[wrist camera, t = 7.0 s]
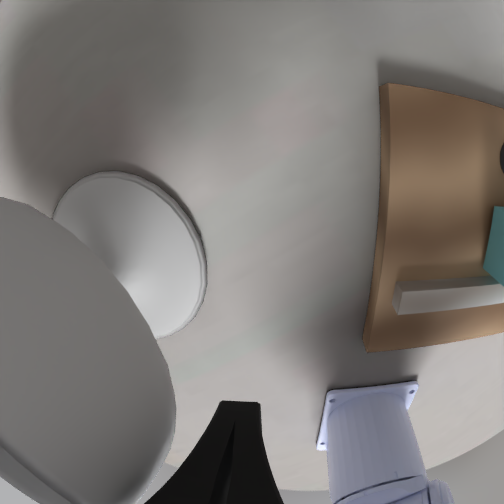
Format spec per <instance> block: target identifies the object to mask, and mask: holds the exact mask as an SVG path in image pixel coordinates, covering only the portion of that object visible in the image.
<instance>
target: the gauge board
mask: <svg viewBox="0 0 504 504" xmlns="http://www.w3.org/2000/svg"><path fill="white" fill-rule="evenodd" d="M379 95H380V119H381V174H380V198H379V214H378V228H377V239H376V249H375V258H374V267H373V275H372V282H371V289H370V296H369V303H368V309H367V315H366V321H365V326H364V332H363V337H362V340H363V343H364V346H365V349H366V352H367V353H369V352H380V351H390V350H400V349H408V348H416V347H424V346H431V345H438V344H444V343H450V342H456V341H462V340H468V339H473V338H478V337H483V336H488V335H493V334H497V333H502V332H504V287H503V286H502V285H501V284H500V283H499V282H498V281H497V280H496V279H495V278H493V277H492V276H491V275H490V274H489V273H488V272H487V271H485V270H484V269H483V264H484V260H485V256H486V251H487V246H488V241H489V236H490V231H491V225H492V219H493V212H494V206H499V207H504V109H503V108H500V107H497V106H494V105H491V104H487V103H484V102H481V101H477V100H473V99H470V98H466V97H462V96H458V95H454V94H449V93H445V92H440V91H435V90H430V89H425V88H420V87H414V86H408V85H401V84H394V83H386V84H384V85H381V86H379Z"/></svg>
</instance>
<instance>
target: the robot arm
mask: <svg viewBox="0 0 504 504" xmlns="http://www.w3.org/2000/svg"><path fill="white" fill-rule="evenodd" d="M418 387H419V385H418V382H417V381H411V382H405V383H398V384H390V385H383V386H374V387H364V388H353V389H341V390H331V391H329V392H328V393H327V396H326V401H325V406H324V412H323V417H322V422H321V427H320V431H319V436H318V441H317V445H316V449H317V450H327V462H328V476H329V493H330V498H331V500H332V502H333V504H455V503H454V500H453V497H452V494H451V492H450V489H449V486H448V484H447V483H446V482H444V481H440V480H439V479H435V480H433V481H431V482H430V481H429V480H428V478H427V475H426V471H425V467H424V463H423V460H422V456H421V453H420V449H419V446H418V443H417V439H416V436H415V433H414V430H413V427H412V424H411V421H410V417H409V414H408V409H409V406H410V404H411V402H412V400H413V398H414V396H415V393H416V391H417V389H418ZM144 504H284V503H283V501H282V498H281V496H280V494H279V491H278V489H277V486H276V483H275V481H274V478H273V475H272V472H271V469H270V465H269V462H268V459H267V455H266V451H265V447H264V442H263V437H262V424H261V407H260V404H259V403H258V402H240V401H221V402H220V403H219V405H218V408H217V410H216V412H215V414H214V416H213V418H212V420H211V421H210V423H209V425H208V427H207V428H206V430H205V432H204V434H203V435H202V437H201V438H200V440H199V441H198V443H197V444H196V446H195V447H194V449H193V450H192V452H191V453H190V454H189V456H188V457H187V458H186V460H185V461H184V462H183V464H182V465H181V466H180V468H179V469H178V470H177V471H176V472H175V474H174V475H173V476H172V477H171V478H170V479H169V480H168V481H167V483H165V485H164V486H163V487H162V488H161V489H160V490H159V491H157V492H156V493H155V494H154V495H153V496H152V497H151V498H150V499H149V500H148V501H147V502H145V503H144Z"/></svg>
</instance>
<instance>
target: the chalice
mask: <svg viewBox="0 0 504 504" xmlns="http://www.w3.org/2000/svg"><path fill="white" fill-rule="evenodd" d="M206 287H207V261H206V258H205V254H204V250H203V246H202V242H201V239H200V237H199V235H198V234H197V232H196V230H195V228H194V226H193V224H192V222H191V220H190V218H189V217H188V216H187V215H186V213H185V212H184V211H183V209H182V208H181V207H180V206H179V204H178V203H177V202H176V201H175V200H174V199H173V198H172V197H171V196H169V195H168V194H167V193H166V192H165V191H163V190H162V189H161V188H160V187H159V186H157V185H155V184H153V183H151V182H149V181H148V180H146V179H144V178H142V177H140V176H138V175H133V174H129V173H125V172H120V171H106V172H97V173H95V174H92V175H89V176H86V177H84V178H82V179H80V180H79V181H78V182H76V183H75V184H74V185H72V186H71V187H70V188H69V189H68V190H67V191H66V193H65V194H64V195H63V197H62V198H61V199H60V201H59V203H58V205H57V207H56V210H55V212H54V215H53V218H52V219H51V218H49V217H47V216H46V215H44V214H43V213H41V212H40V211H38V210H36V209H35V208H33V207H32V206H30V205H28V204H25V203H21V202H18V201H14V200H11V199H7V198H4V197H0V476H1V477H2V478H3V479H4V480H6V481H7V482H8V483H10V484H11V485H12V486H14V487H15V488H17V489H18V490H19V491H21V492H22V493H24V494H25V495H27V496H29V497H30V498H32V499H33V500H35V501H36V502H38V503H40V504H136V503H137V502H138V501H139V500H140V498H141V497H142V496H143V494H144V493H145V492H146V490H147V489H148V487H149V486H150V484H151V483H152V481H153V480H154V478H155V476H156V475H157V473H158V472H159V470H160V468H161V466H162V464H163V463H164V461H165V459H166V457H167V455H168V453H169V451H170V449H171V445H172V441H173V437H174V433H175V424H176V402H175V394H174V389H173V385H172V381H171V377H170V373H169V368H168V365H167V363H166V361H165V359H164V356H163V354H162V352H161V350H160V348H159V346H158V344H157V342H156V340H155V339H159V338H163V337H167V336H171V335H172V334H174V333H176V332H178V331H179V330H181V329H183V328H185V327H186V325H187V324H188V323H189V322H190V321H191V320H192V319H193V318H194V317H195V316H196V314H197V312H198V311H199V309H200V307H201V305H202V303H203V301H204V296H205V292H206Z"/></svg>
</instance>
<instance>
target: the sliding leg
mask: <svg viewBox="0 0 504 504" xmlns="http://www.w3.org/2000/svg"><path fill="white" fill-rule="evenodd" d="M483 269H484V270H485V271H487V272H488V273H489V274H490V275H491V276H492V277H493V278H495V279H496V280H497V281H498V282H499V283H500V284H501V285H502V286H503V287H504V207H499V206H494V212H493V219H492V225H491V231H490V236H489V241H488V246H487V251H486V256H485V260H484V264H483Z"/></svg>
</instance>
